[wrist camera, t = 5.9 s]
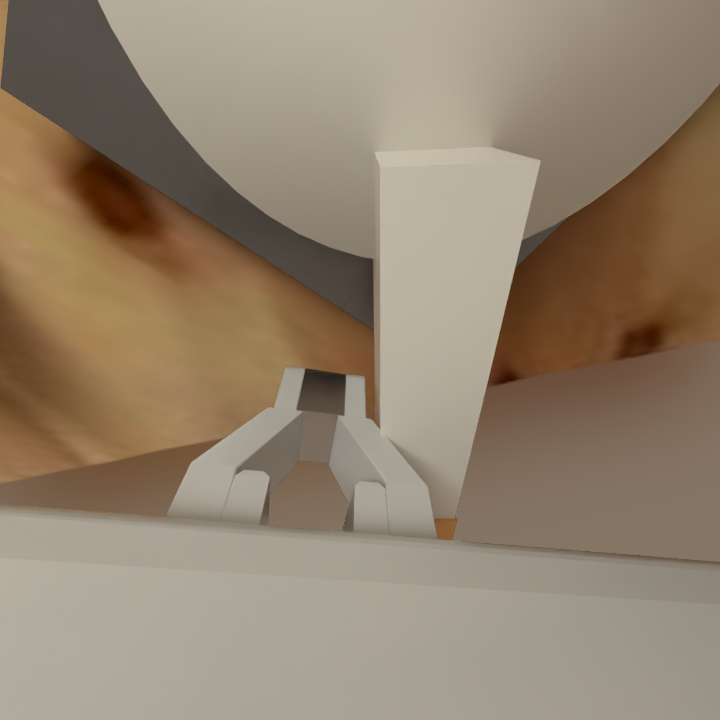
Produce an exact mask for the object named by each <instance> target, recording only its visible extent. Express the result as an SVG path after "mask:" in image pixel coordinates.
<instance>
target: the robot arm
mask: <svg viewBox="0 0 720 720" xmlns="http://www.w3.org/2000/svg"><path fill="white" fill-rule="evenodd" d="M298 461H309V462H319V463H326V464H329V467H330V469H331V471H332V472H333V474H334V476H335V478H336V480H337V482H338V484H339V486H340V488H341V490H342V492H343V494H344V496H345V498H346V500H347V501H348V503H349V508H348V511H347V515H346V519H345V522H344V525H343V529H342V531H328V530H317V529H304V528H292V527H279V526H268V521H269V520H268V518H269V495H270V494H271V493H272V491H273V490H274V489H275V488H276V487H277V486H278V485H279V483H280V482H281V481H282V480H283V479H284V478H285V477H286V475H287V474H288V473H289V472H290V471H291V470H292V469H293V467H294V466H295V465H296V464H297V463H298ZM0 720H720V562H714V561H702V560H689V559H677V558H663V557H651V556H640V555H627V554H615V553H603V552H590V551H578V550H566V549H553V548H541V547H528V546H516V545H504V544H491V543H479V542H467V541H455V540H442V539H437V534H436V529H435V523H434V518H433V513H432V507H431V502H430V497H429V491H428V486H427V485H426V484H425V483H424V481H423V480H422V479H421V478H420V477H419V475H418V474H417V473H416V472H415V471H414V469H413V468H412V467H411V466H410V465H409V463H408V462H407V461H406V460H405V459H404V457H403V456H402V455H401V454H400V453H399V451H398V450H397V449H396V448H395V447H394V445H393V444H392V443H391V442H390V441H389V439H388V438H387V437H386V436H381V435H380V429H379V427H378V426H377V425H376V424H375V423H374V421H373V420H372V419H366V395H365V377H364V376H360V375H351V374H346V375H345V374H339V373H332V372H325V371H319V370H312V369H306V370H305V369H304V368H298V367H291V366H287V367H286V368H285V370H284V374H283V377H282V381H281V384H280V388H279V391H278V395H277V398H276V402H275V406H274V408H272V407H268V408H266V409H265V410H263V411H262V412H261V413H259V414H258V415H256V416H255V417H254V418H252V419H251V420H250V421H248V422H247V423H245V424H244V425H243V426H241V427H240V428H238V429H237V430H236V431H234V432H233V433H232V434H230V435H229V436H227V437H226V438H225V439H223V440H222V441H220V442H219V443H218V444H216V445H215V446H214V447H212V448H211V449H209V450H208V451H207V452H205V453H204V454H202V455H201V456H200V457H198V458H197V459H195V460H194V461H193V462H192V463H191V464H190V466H189V468H188V470H187V473H186V475H185V477H184V479H183V481H182V483H181V485H180V487H179V489H178V491H177V494H176V495H175V498H174V500H173V502H172V504H171V506H170V508H169V510H168V512H167V515H166V516H165V517H157V516H144V515H132V514H120V513H107V512H95V511H81V510H69V509H58V508H45V507H33V506H21V505H8V504H0Z"/></svg>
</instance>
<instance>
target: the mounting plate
mask: <svg viewBox="0 0 720 720" xmlns="http://www.w3.org/2000/svg"><path fill="white" fill-rule="evenodd" d="M1 89H3V90H5V91H6V92H8V93H9V94H11V95H12V96H14V97H15V98H17V99H18V100H20V101H21V102H23V103H25V104H26V105H28V106H29V107H31V108H32V109H34V110H35V111H37V112H38V113H40V114H42V115H43V116H45V117H46V118H48V119H49V120H51V121H52V122H54V123H55V124H57V125H58V126H60V127H62V128H63V129H65V130H66V131H68V132H69V133H71V134H72V135H74V136H75V137H77V138H79V139H80V140H82V141H83V142H85V143H86V144H88V145H89V146H91V147H92V148H94V149H96V150H97V151H99V152H100V153H102V154H103V155H105V156H106V157H108V158H109V159H111V160H112V161H114V162H116V163H117V164H119V165H120V166H122V167H123V168H125V169H126V170H128V171H129V172H131V173H133V174H134V175H136V176H137V177H139V178H140V179H142V180H143V181H145V182H146V183H148V184H149V185H151V186H153V187H154V188H156V189H157V190H159V191H160V192H162V193H163V194H165V195H166V196H168V197H170V198H171V199H173V200H174V201H176V202H177V203H179V204H180V205H182V206H183V207H185V208H187V209H188V210H190V211H191V212H193V213H194V214H196V215H197V216H199V217H200V218H202V219H203V220H205V221H207V222H208V223H210V224H211V225H213V226H214V227H216V228H217V229H219V230H220V231H222V232H224V233H225V234H227V235H228V236H230V237H231V238H233V239H234V240H236V241H237V242H239V243H240V244H242V245H244V246H245V247H247V248H248V249H250V250H251V251H253V252H254V253H256V254H257V255H259V256H261V257H262V258H264V259H265V260H267V261H268V262H270V263H271V264H273V265H274V266H276V267H278V268H279V269H281V270H282V271H284V272H285V273H287V274H288V275H290V276H291V277H293V278H294V279H296V280H298V281H299V282H301V283H302V284H304V285H305V286H307V287H308V288H310V289H311V290H313V291H315V292H316V293H318V294H319V295H321V296H322V297H324V298H325V299H327V300H328V301H330V302H331V303H333V304H335V305H336V306H338V307H339V308H341V309H342V310H344V311H345V312H347V313H348V314H350V315H352V316H353V317H355V318H356V319H358V320H359V321H361V322H362V323H364V324H365V325H367V326H369V327H370V328H372V329H373V330H374V295H373V259H372V258H366V257H360V256H357V255H353V254H350V253H347V252H343V251H340V250H336V249H333V248H330V247H328V246H325V245H323V244H321V243H318V242H316V241H314V240H312V239H309V238H307V237H305V236H303V235H300V234H298V233H297V232H295V231H293V230H292V229H290V228H288V227H286V226H285V225H283V224H281V223H280V222H278V221H276V220H275V219H273V218H271V217H270V216H268V215H267V214H265V213H264V212H263V211H261V210H260V209H259V208H257V207H256V206H255V205H254V204H252V203H251V202H250V201H248V200H247V199H246V198H244V197H243V196H242V195H240V194H239V193H238V192H237V191H236V190H234V189H233V188H232V187H231V186H230V185H229V184H228V183H227V182H226V181H225V180H224V179H223V178H222V177H221V176H220V175H219V174H218V173H217V172H216V171H214V170H213V169H212V168H211V167H210V166H209V165H208V164H207V163H206V162H205V161H204V160H203V158H202V157H201V156H200V155H199V154H198V153H197V152H196V150H195V149H194V148H193V147H192V146H191V145H190V143H189V142H188V141H187V140H186V139H185V138H184V136H183V135H182V134H181V133H180V132H179V131H178V129H177V128H176V127H175V126H174V125H173V123H172V122H171V120H170V119H169V118H168V116H167V115H166V113H165V112H164V111H163V109H162V108H161V106H160V105H159V104H158V102H157V101H156V99H155V98H154V97H153V95H152V94H151V92H150V91H149V89H148V88H147V87H146V85H145V84H144V82H143V81H142V79H141V78H140V76H139V74H138V73H137V71H136V69H135V67H134V66H133V64H132V62H131V61H130V59H129V57H128V56H127V54H126V52H125V50H124V49H123V47H122V45H121V44H120V42H119V40H118V38H117V37H116V35H115V33H114V32H113V30H112V28H111V27H110V24H109V22H108V20H107V18H106V16H105V14H104V12H103V10H102V8H101V6H100V4H99V2H98V0H9V4H8V14H7V25H6V36H5V47H4V58H3V68H2V79H1ZM567 218H568V217H567ZM567 218H565V219H564V220H562V221H560V222H559V223H557V224H555V225H553V226H551V227H549V228H547V229H545V230H543V231H541V232H538V233H536V234H534V235H532V236H530V237H528V238H526V239H524V240H522V241H521V245H520V250H519V254H518V258H517V262H516V266H515V268H516V267H517V266H518V265H519V264H520V263H521V262H522V261H523V260H524V259H525V258H526V257H527V256H528V255H529V254H530V253H531V252H532V251H533V250H534V249H536V248H537V247H538V246H539V245H540V244H541V243H542V242H543V241H544V240H545V239H546V238H547V237H548V236H549V235H550V234H551V233H552V232H553V231H554V230H555V229H556V228H557V227H559V226H560V225H561V224H562V223H563V222H564V221H565V220H566V219H567Z"/></svg>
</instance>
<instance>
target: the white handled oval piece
mask: <svg viewBox="0 0 720 720" xmlns="http://www.w3.org/2000/svg"><path fill="white" fill-rule="evenodd" d="M98 2H99V4H100V6H101V8H102V10H103V12H104V14H105V16H106V18H107V20H108V22H109V24H110V27H111V28H112V30H113V32H114V33H115V35H116V37H117V38H118V40H119V42H120V44H121V45H122V47H123V49H124V50H125V52H126V54H127V56H128V57H129V59H130V61H131V62H132V64H133V66H134V67H135V69H136V71H137V73H138V74H139V76H140V78H141V79H142V81H143V82H144V84H145V85H146V87H147V88H148V89H149V91H150V92H151V94H152V95H153V97H154V98H155V99H156V101H157V102H158V104H159V105H160V106H161V108H162V109H163V111H164V112H165V113H166V115H167V116H168V118H169V119H170V120H171V122H172V123H173V125H174V126H175V127H176V128H177V129H178V131H179V132H180V133H181V134H182V135H183V136H184V138H185V139H186V140H187V141H188V142H189V143H190V145H191V146H192V147H193V148H194V149H195V150H196V152H197V153H198V154H199V155H200V156H201V157H202V158H203V160H204V161H205V162H206V163H207V164H208V165H209V166H210V167H211V168H212V169H213V170H214V171H216V172H217V173H218V174H219V175H220V176H221V177H222V178H223V179H224V180H225V181H226V182H227V183H228V184H229V185H230V186H231V187H232V188H233V189H234V190H236V191H237V192H238V193H239V194H240V195H242V196H243V197H244V198H246V199H247V200H248V201H250V202H251V203H252V204H254V205H255V206H256V207H257V208H259V209H260V210H261V211H263V212H264V213H265V214H267V215H268V216H270V217H271V218H273V219H275V220H276V221H278V222H280V223H281V224H283V225H285V226H286V227H288V228H290V229H292V230H293V231H295V232H297V233H298V234H300V235H303V236H305V237H307V238H309V239H312V240H314V241H316V242H318V243H321V244H323V245H325V246H328V247H330V248H333V249H336V250H340V251H343V252H347V253H350V254H353V255H357V256H360V257H366V258H372V259H373V295H374V364H375V414H374V423H375V424H376V425H377V426H378V427H379V429H380V435H381V436H386V437H387V438H388V439H389V441H390V442H391V443H392V444H393V445H394V447H395V448H396V449H397V450H398V451H399V453H400V454H401V455H402V456H403V457H404V459H405V460H406V461H407V462H408V463H409V465H410V466H411V467H412V468H413V469H414V471H415V472H416V473H417V474H418V475H419V477H420V478H421V479H422V480H423V481H424V483H425V484H426V485H427V486H428V491H429V497H430V502H431V507H432V513H433V518H434V523H435V529H436V534H437V539H442V540H452V539H453V535H454V531H455V527H456V523H457V519H456V511H457V507H458V503H459V499H460V495H461V491H462V487H463V482H464V478H465V474H466V470H467V466H468V462H469V458H470V453H471V449H472V445H473V441H474V437H475V433H476V428H477V424H478V420H479V416H480V411H481V408H482V404H483V399H484V395H485V391H486V387H487V383H488V379H489V374H490V370H491V366H492V362H493V358H494V354H495V349H496V345H497V341H498V337H499V333H500V329H501V324H502V320H503V316H504V312H505V308H506V304H507V300H508V295H509V291H510V287H511V283H512V279H513V275H514V270H515V266H516V262H517V258H518V254H519V250H520V245H521V241H522V240H524V239H526V238H528V237H530V236H532V235H534V234H536V233H538V232H541V231H543V230H545V229H547V228H549V227H551V226H553V225H555V224H557V223H559V222H560V221H562V220H564V219H565V218H567V217H569V216H570V215H572V214H574V213H575V212H577V211H578V210H580V209H582V208H583V207H585V206H587V205H588V204H590V203H592V202H593V201H594V200H596V199H597V198H598V197H600V196H601V195H602V194H604V193H605V192H606V191H608V190H609V189H610V188H612V187H613V186H615V185H616V184H617V183H619V182H620V181H621V180H623V179H624V178H625V177H627V176H628V175H629V174H630V173H631V172H632V171H634V170H635V169H636V168H637V167H638V166H639V165H640V164H642V163H643V162H644V161H645V160H646V159H647V158H648V157H650V156H651V155H652V154H653V153H654V152H655V151H656V150H657V149H659V148H660V147H661V146H662V145H663V144H664V143H665V142H666V141H667V140H668V139H669V138H670V137H671V136H672V135H673V134H674V133H675V132H676V131H677V130H678V129H679V128H680V127H681V126H682V125H683V124H684V123H685V122H686V121H687V120H688V119H689V118H690V117H691V115H692V114H693V113H694V112H695V111H696V110H697V109H698V108H699V107H700V106H701V105H702V104H703V103H704V102H705V101H706V100H707V99H708V97H709V96H710V95H711V94H712V93H713V91H714V90H715V89H716V88H717V87H718V85H719V84H720V0H98Z"/></svg>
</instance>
